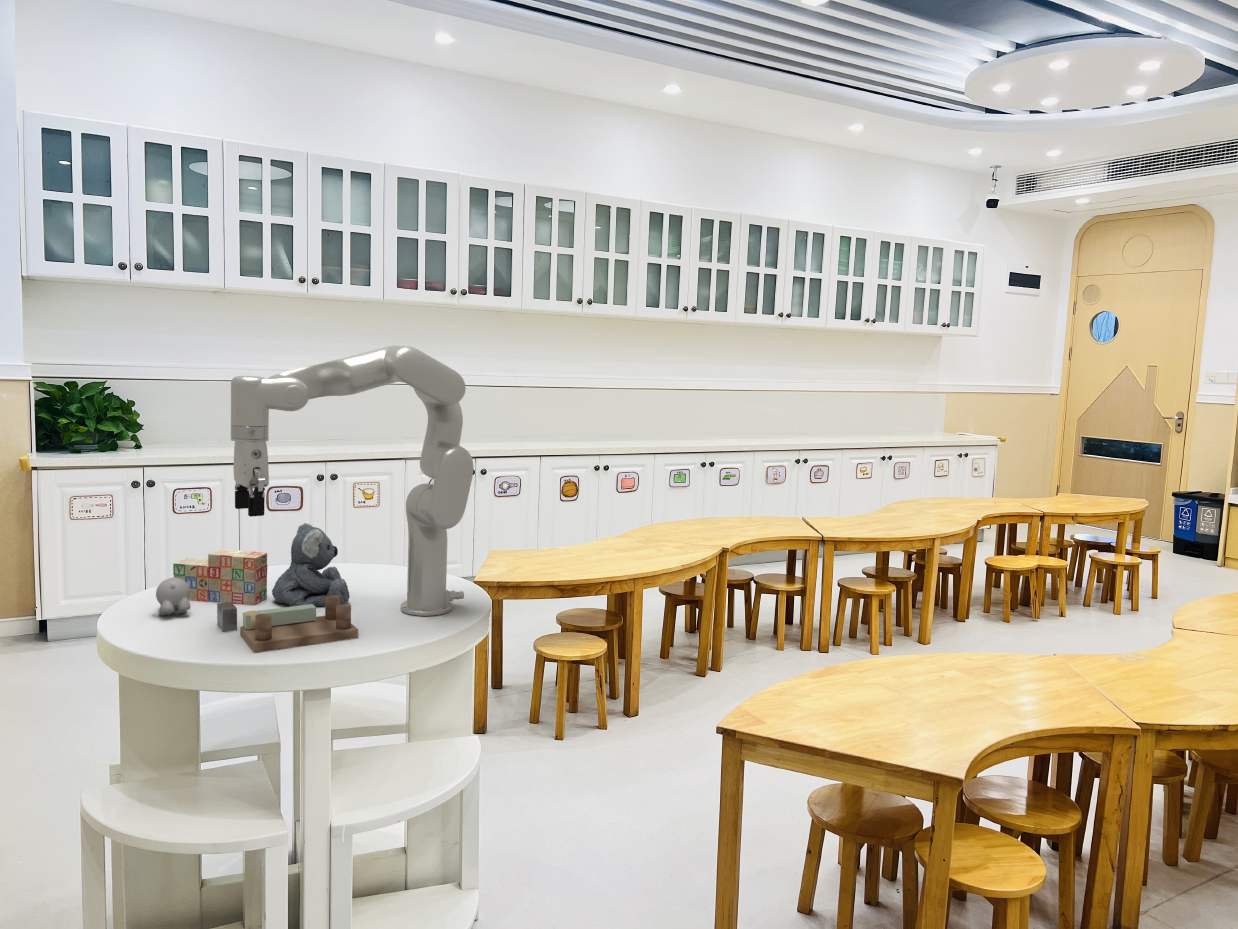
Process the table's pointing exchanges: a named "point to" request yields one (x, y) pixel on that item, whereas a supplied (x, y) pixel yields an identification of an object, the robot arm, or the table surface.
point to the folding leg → (282, 615)
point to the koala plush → (310, 571)
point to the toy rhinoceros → (173, 596)
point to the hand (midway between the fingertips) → (249, 512)
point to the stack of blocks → (226, 577)
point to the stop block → (226, 616)
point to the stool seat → (302, 629)
